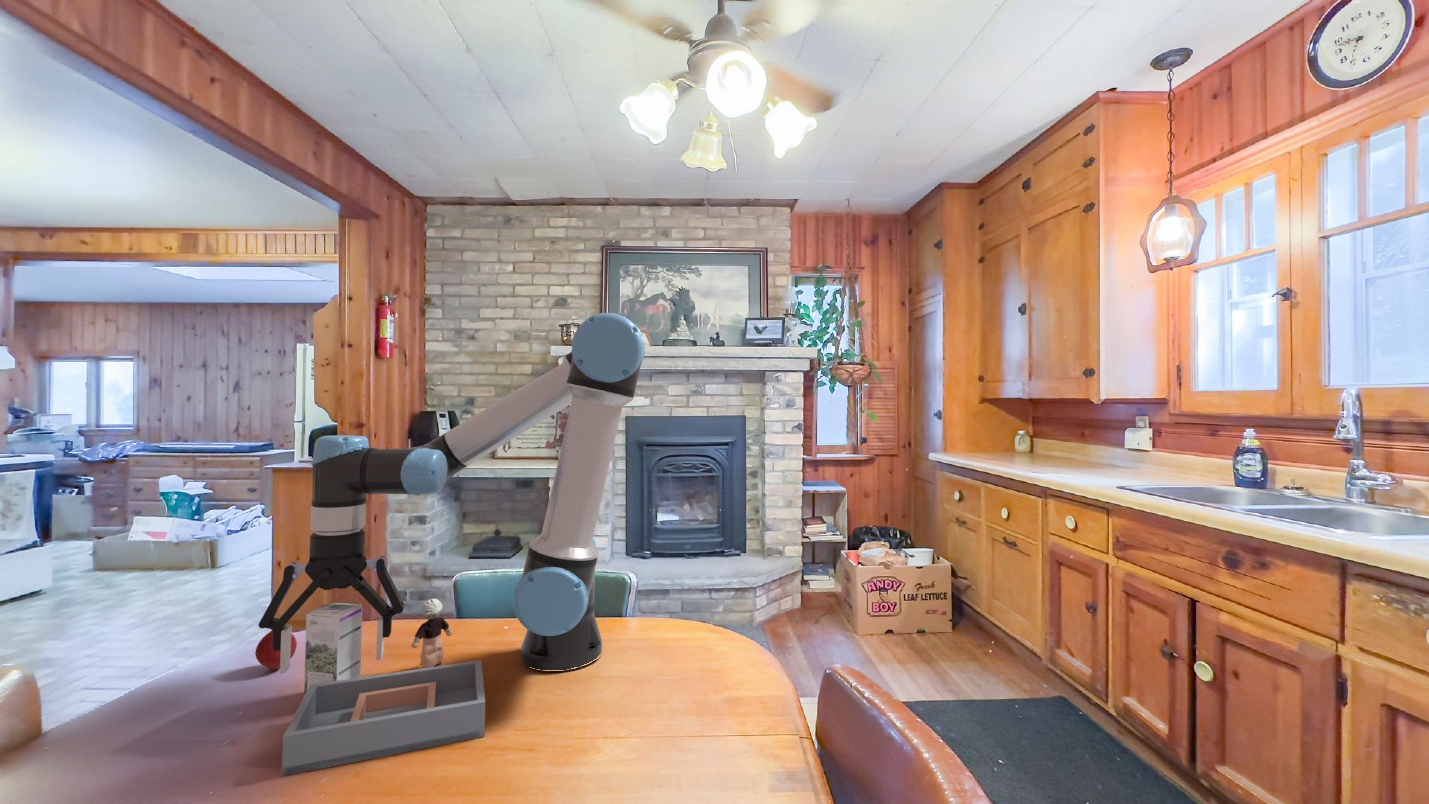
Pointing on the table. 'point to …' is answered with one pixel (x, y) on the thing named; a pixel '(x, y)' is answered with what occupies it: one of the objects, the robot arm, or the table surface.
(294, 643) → the onion
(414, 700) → the walled box
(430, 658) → the grandmother figurine
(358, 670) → the syrup box
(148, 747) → the table surface
